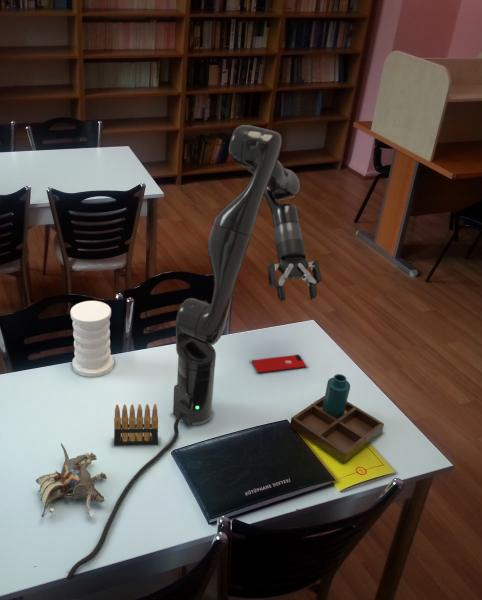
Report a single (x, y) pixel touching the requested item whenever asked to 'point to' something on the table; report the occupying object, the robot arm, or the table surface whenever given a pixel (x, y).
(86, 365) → the decorative container
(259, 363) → the electronic device
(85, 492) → the figurine
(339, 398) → the bottle
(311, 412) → the compartment tray
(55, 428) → the table surface
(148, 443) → the ammunition clip
